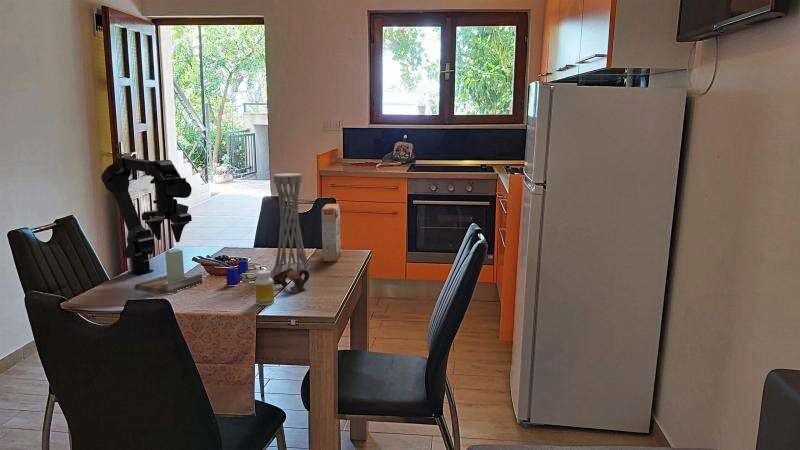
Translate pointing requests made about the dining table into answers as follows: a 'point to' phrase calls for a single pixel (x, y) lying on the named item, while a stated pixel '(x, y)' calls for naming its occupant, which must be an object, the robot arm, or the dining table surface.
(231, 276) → the blue notched block
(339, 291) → the dining table surface
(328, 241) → the cracker box
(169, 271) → the sage block
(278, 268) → the vase
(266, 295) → the supplement bottle
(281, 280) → the pottery mug
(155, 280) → the walnut board
